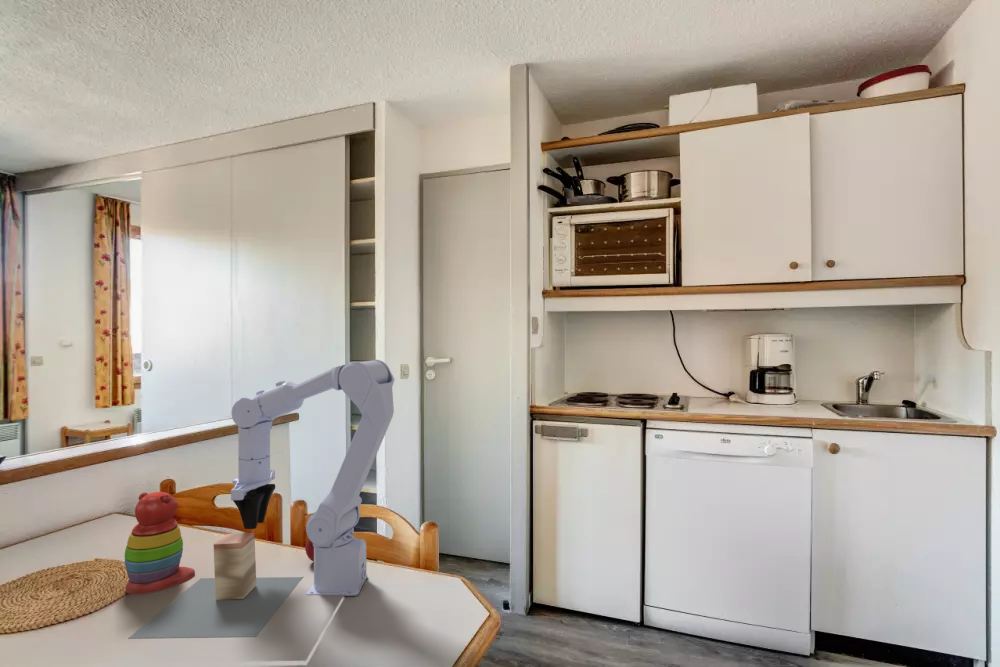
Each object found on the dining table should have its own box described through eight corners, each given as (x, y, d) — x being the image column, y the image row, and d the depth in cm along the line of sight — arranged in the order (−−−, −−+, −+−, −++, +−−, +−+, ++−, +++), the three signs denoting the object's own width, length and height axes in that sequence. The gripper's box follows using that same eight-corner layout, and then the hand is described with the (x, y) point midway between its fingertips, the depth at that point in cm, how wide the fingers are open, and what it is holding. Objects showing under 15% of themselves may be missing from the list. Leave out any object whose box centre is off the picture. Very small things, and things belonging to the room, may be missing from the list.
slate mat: (303, 579, 100) (303, 577, 100) (255, 639, 80) (255, 636, 80) (200, 580, 100) (200, 578, 100) (127, 641, 80) (127, 638, 80)
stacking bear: (200, 575, 102) (200, 486, 102) (154, 600, 92) (154, 502, 92) (158, 569, 105) (158, 483, 105) (108, 593, 95) (109, 497, 95)
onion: (325, 571, 104) (325, 532, 104) (299, 568, 105) (299, 530, 105) (339, 559, 109) (339, 521, 109) (315, 556, 110) (315, 520, 111)
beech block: (256, 585, 96) (254, 532, 97) (243, 598, 91) (241, 542, 92) (229, 586, 96) (227, 533, 96) (215, 600, 91) (213, 544, 91)
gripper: (251, 449, 108) (251, 513, 108) (214, 466, 94) (214, 539, 94) (284, 448, 108) (284, 512, 108) (252, 465, 94) (252, 539, 94)
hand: (254, 525), depth 101 cm, fingers open, 3 cm apart
